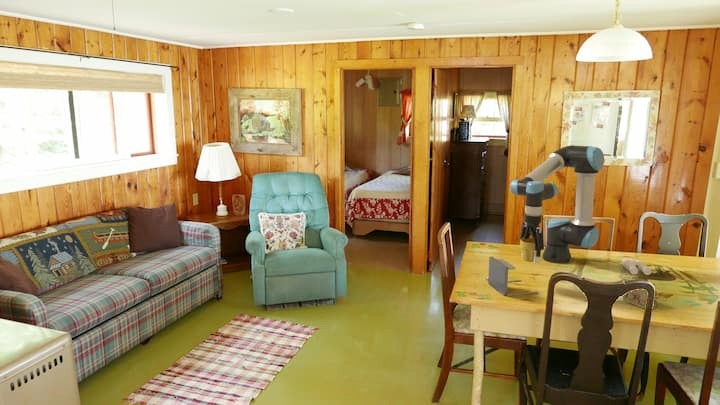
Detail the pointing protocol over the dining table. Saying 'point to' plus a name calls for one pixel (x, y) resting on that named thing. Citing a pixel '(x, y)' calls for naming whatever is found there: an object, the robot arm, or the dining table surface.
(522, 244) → the plant pot
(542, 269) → the dining table surface
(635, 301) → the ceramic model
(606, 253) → the dining table surface
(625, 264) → the binoculars
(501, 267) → the bracket
